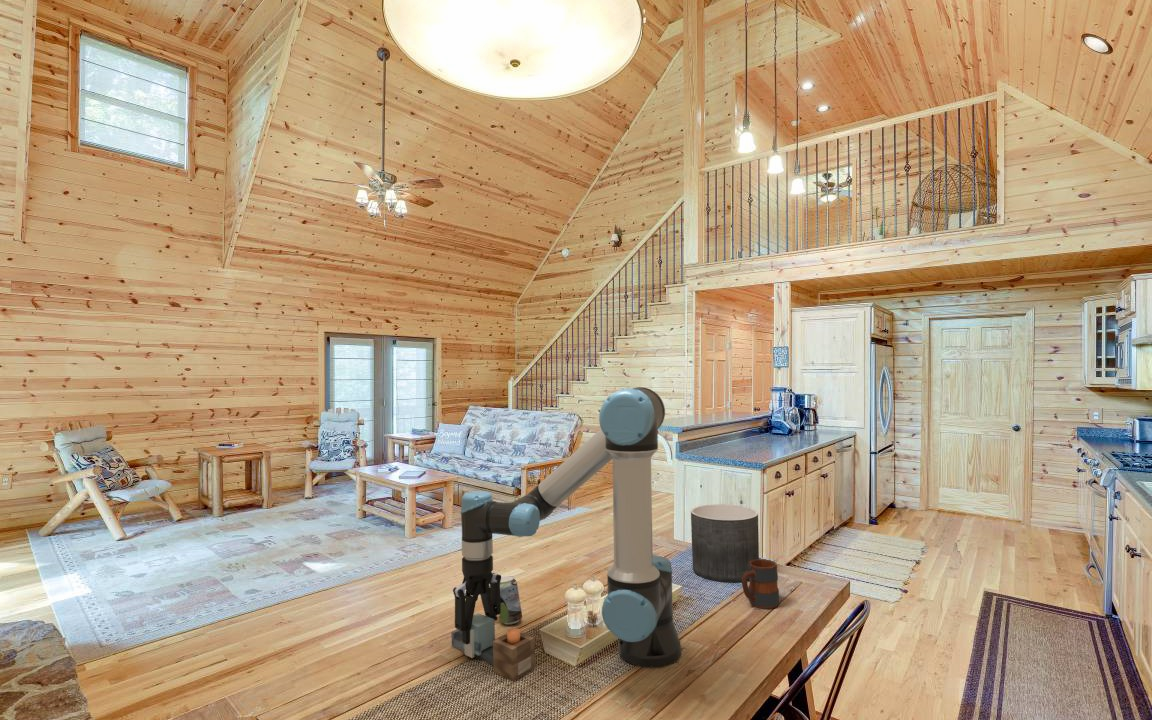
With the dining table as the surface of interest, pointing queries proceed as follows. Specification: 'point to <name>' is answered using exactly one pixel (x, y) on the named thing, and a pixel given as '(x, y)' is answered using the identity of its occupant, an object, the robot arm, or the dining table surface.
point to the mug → (762, 584)
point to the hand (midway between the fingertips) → (478, 650)
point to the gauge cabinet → (514, 657)
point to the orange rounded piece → (513, 636)
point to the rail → (457, 643)
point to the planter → (724, 541)
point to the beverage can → (509, 601)
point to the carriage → (482, 632)
